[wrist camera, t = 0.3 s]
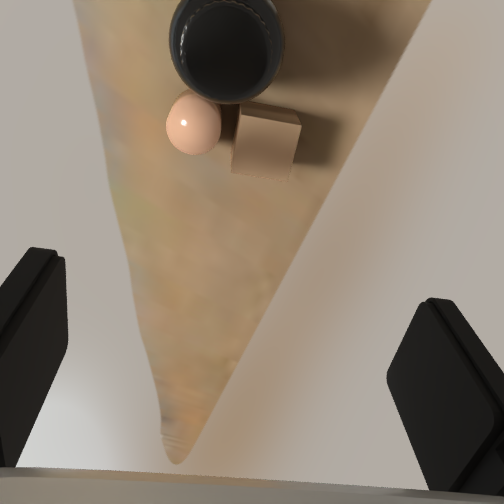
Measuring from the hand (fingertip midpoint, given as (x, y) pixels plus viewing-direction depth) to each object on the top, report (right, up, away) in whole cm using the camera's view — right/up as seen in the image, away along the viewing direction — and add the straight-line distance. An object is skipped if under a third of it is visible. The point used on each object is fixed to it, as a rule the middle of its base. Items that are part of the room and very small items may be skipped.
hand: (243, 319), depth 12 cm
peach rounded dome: (-4, +13, +24) cm, 28 cm away
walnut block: (+1, +12, +25) cm, 28 cm away
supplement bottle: (-2, +18, +21) cm, 28 cm away
